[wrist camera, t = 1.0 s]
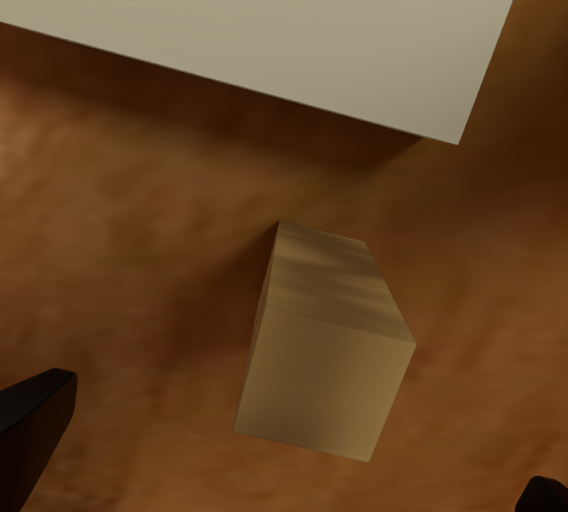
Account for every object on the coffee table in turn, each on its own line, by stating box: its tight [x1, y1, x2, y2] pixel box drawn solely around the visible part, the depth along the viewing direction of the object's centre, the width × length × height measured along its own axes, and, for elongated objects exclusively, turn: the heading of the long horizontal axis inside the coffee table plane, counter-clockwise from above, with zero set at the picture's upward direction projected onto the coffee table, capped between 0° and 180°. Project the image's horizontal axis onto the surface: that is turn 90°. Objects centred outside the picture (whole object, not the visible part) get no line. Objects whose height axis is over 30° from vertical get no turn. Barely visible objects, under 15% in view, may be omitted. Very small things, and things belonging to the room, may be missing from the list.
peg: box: [233, 220, 416, 462], centre depth 16 cm, size 4×4×9 cm
